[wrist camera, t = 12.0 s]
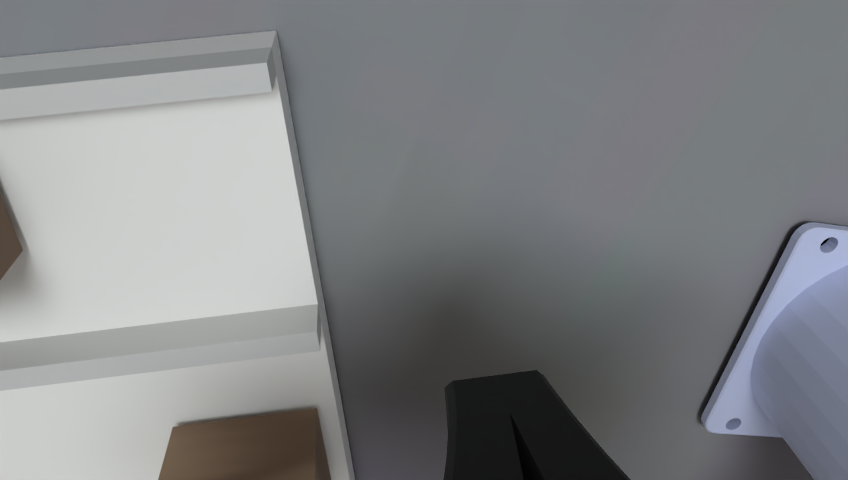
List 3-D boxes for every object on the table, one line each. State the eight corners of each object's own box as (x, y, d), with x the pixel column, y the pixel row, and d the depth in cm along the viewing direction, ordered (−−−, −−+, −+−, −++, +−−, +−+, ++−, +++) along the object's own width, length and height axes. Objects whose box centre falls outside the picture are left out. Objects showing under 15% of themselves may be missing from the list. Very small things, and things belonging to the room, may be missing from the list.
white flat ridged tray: (276, 30, 16) (266, 62, 14) (379, 618, 28) (383, 689, 25) (-267, 83, 16) (-374, 126, 13) (70, 663, 27) (45, 741, 25)
